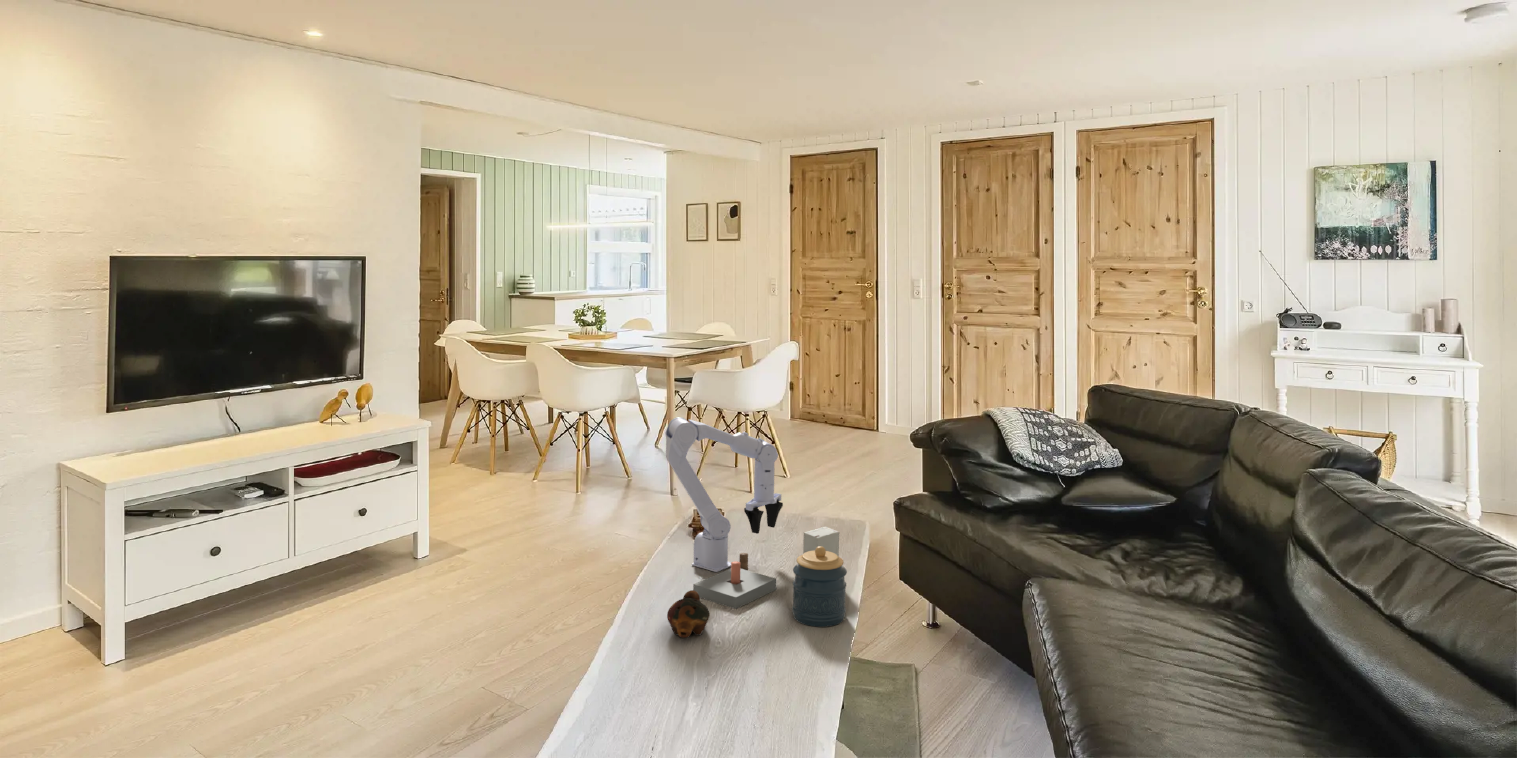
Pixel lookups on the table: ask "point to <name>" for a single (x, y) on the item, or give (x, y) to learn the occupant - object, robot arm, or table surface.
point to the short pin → (743, 561)
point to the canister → (819, 588)
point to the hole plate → (735, 588)
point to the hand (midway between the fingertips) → (763, 529)
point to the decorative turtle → (688, 615)
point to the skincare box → (821, 540)
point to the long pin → (735, 572)
